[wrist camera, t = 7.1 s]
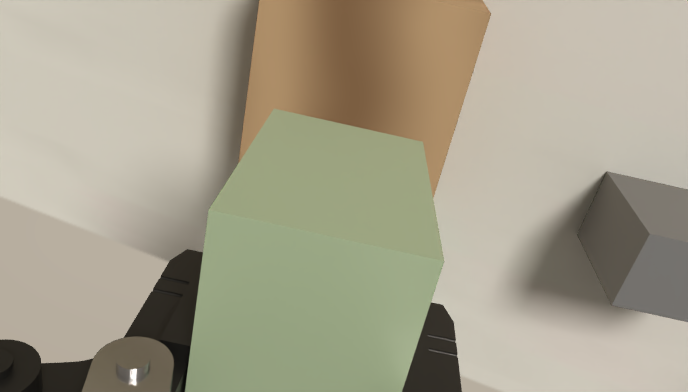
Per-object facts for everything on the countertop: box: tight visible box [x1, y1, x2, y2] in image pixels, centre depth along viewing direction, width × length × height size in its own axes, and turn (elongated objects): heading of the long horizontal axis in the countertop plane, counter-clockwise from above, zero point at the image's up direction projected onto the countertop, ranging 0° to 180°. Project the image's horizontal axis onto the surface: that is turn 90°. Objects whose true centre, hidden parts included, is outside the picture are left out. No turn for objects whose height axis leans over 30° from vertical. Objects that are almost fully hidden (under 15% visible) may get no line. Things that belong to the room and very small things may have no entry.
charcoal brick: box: [577, 172, 688, 322], centre depth 26 cm, size 6×4×6 cm, turn 78°
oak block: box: [238, 0, 491, 197], centre depth 25 cm, size 8×10×4 cm
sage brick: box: [185, 109, 444, 392], centre depth 12 cm, size 6×4×6 cm, turn 168°
